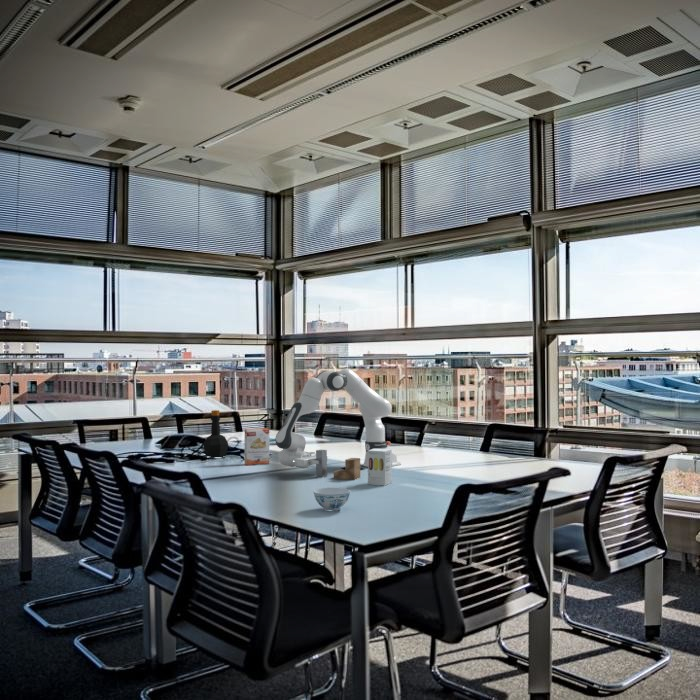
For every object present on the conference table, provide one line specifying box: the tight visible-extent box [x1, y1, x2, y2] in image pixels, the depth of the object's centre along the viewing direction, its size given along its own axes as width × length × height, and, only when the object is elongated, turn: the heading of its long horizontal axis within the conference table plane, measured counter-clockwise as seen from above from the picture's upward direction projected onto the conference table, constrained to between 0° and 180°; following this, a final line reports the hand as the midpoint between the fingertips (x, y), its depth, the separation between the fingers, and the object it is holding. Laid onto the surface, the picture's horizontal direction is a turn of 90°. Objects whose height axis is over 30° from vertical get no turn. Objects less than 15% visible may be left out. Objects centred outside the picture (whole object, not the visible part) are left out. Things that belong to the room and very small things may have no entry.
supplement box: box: [367, 448, 393, 487], centre depth 350 cm, size 10×9×17 cm
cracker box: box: [244, 428, 270, 466], centre depth 422 cm, size 14×6×21 cm, turn 112°
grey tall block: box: [315, 449, 328, 478], centre depth 373 cm, size 4×4×14 cm
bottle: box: [203, 409, 229, 457], centre depth 453 cm, size 16×16×30 cm
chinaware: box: [313, 486, 351, 511], centre depth 291 cm, size 15×15×8 cm
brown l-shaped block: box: [333, 457, 361, 481], centre depth 368 cm, size 12×8×10 cm
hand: (322, 461), depth 373 cm, fingers closed on grey tall block, 4 cm apart
